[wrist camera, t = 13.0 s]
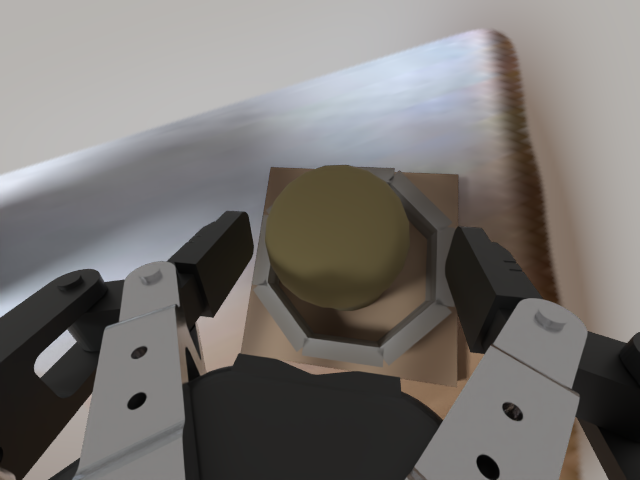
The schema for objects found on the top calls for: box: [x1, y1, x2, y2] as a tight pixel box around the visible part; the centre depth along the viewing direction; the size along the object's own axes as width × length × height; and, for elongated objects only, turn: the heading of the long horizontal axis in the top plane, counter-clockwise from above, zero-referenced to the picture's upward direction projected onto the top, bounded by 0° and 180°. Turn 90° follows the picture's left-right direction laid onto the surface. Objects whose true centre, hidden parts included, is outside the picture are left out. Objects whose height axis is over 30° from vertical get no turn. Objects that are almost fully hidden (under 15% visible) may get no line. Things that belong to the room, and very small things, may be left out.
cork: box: [265, 165, 410, 311], centre depth 14 cm, size 6×6×11 cm
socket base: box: [241, 167, 458, 387], centre depth 18 cm, size 14×14×4 cm
